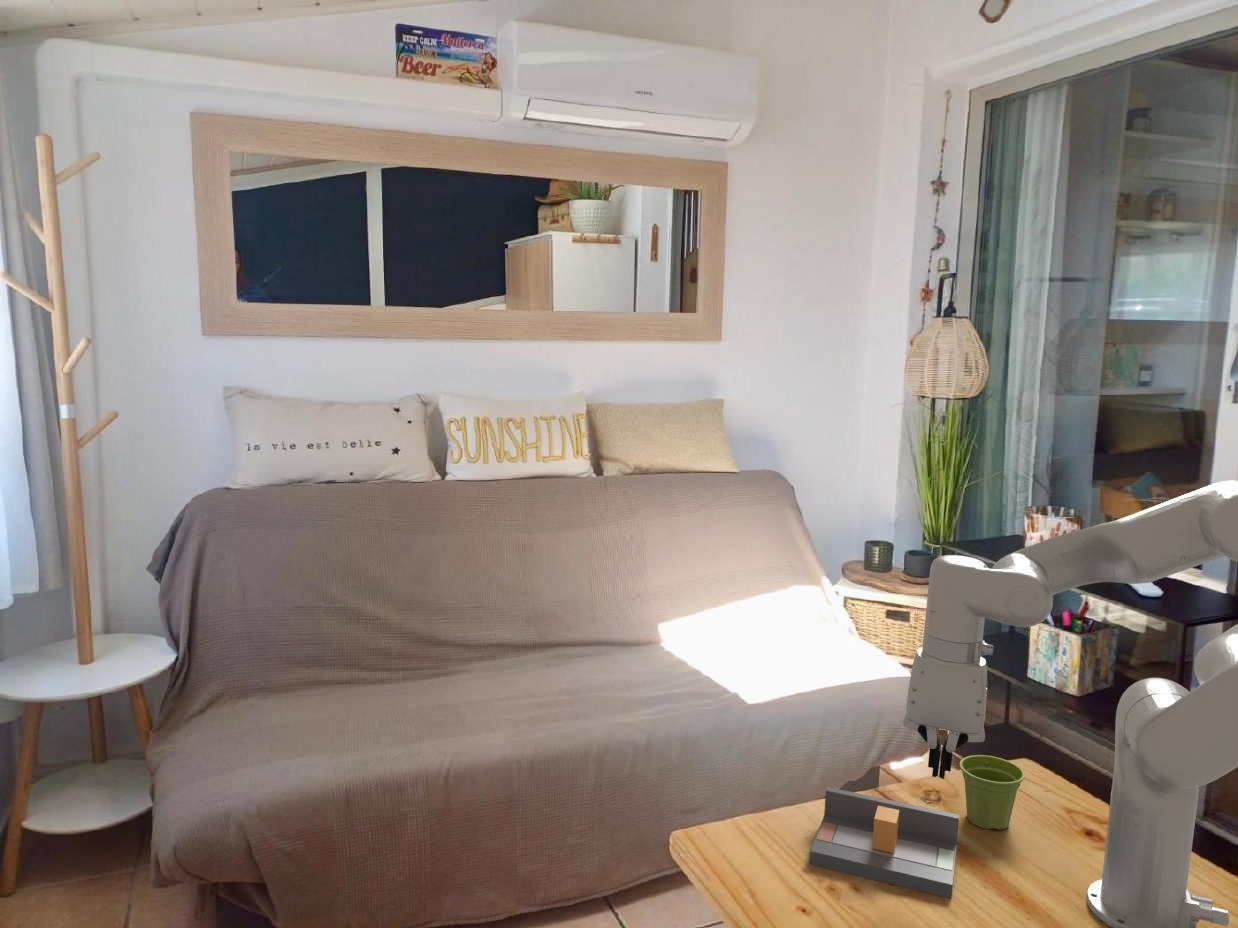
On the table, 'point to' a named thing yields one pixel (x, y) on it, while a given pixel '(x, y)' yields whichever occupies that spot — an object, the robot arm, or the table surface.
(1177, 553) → the robot arm
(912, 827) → the switch panel
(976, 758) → the plant pot
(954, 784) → the table surface
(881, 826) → the handle
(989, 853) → the table surface
